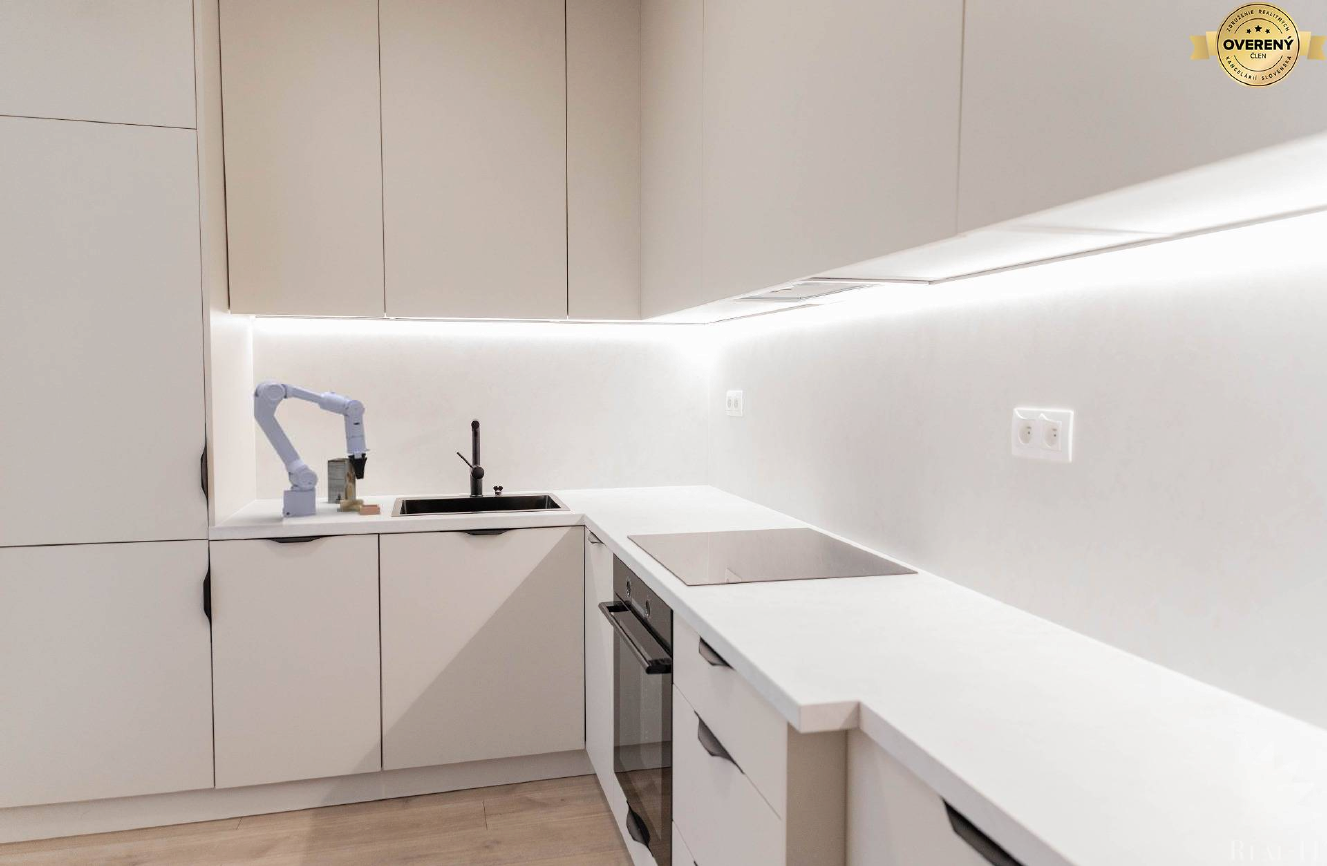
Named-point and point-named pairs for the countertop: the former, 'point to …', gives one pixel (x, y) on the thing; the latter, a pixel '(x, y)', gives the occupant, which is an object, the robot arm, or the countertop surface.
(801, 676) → the countertop surface
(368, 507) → the pink square tray
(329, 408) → the robot arm
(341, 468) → the coffee box
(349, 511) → the mat
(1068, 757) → the countertop surface
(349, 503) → the tan rectangular block
